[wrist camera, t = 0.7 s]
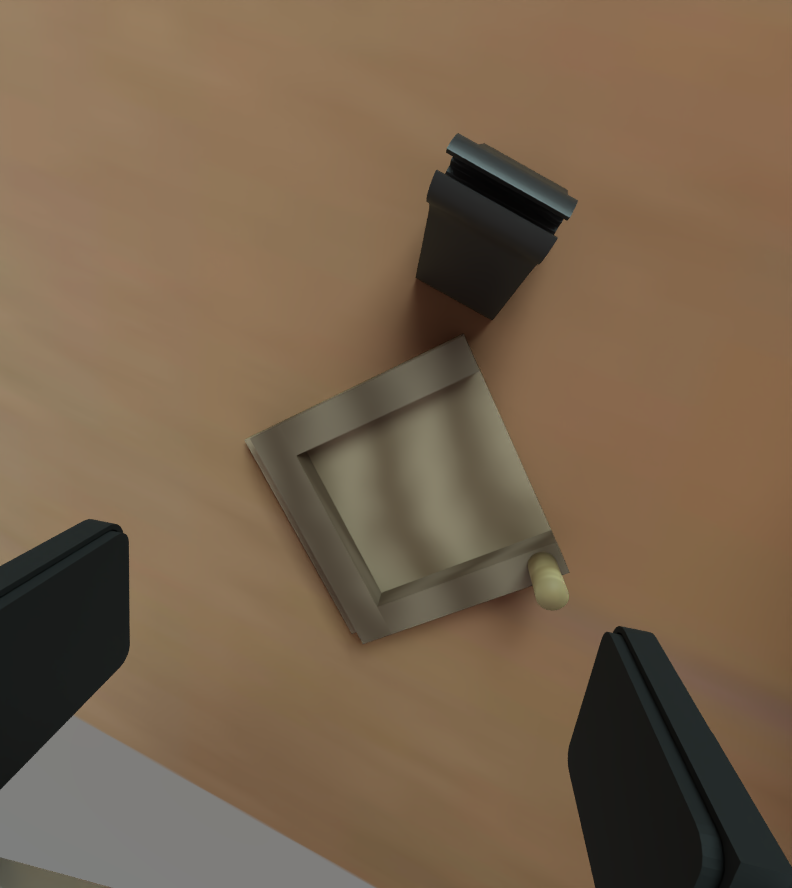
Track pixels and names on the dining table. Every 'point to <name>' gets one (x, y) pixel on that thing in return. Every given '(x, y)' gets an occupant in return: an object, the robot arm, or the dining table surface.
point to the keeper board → (412, 496)
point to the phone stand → (487, 225)
